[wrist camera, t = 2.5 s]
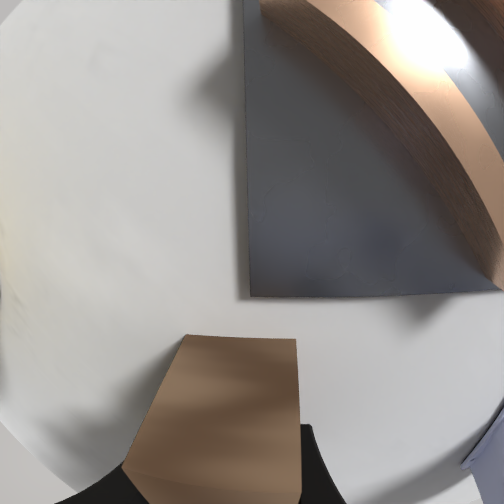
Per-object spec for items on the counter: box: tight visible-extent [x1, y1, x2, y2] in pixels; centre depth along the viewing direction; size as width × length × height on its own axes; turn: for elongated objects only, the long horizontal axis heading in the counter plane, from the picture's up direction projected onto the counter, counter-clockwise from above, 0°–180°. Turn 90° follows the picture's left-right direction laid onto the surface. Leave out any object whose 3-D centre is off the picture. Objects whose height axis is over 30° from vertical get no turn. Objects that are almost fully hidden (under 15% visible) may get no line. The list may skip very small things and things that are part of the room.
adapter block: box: [121, 334, 302, 504], centre depth 8 cm, size 4×7×6 cm, turn 1°
